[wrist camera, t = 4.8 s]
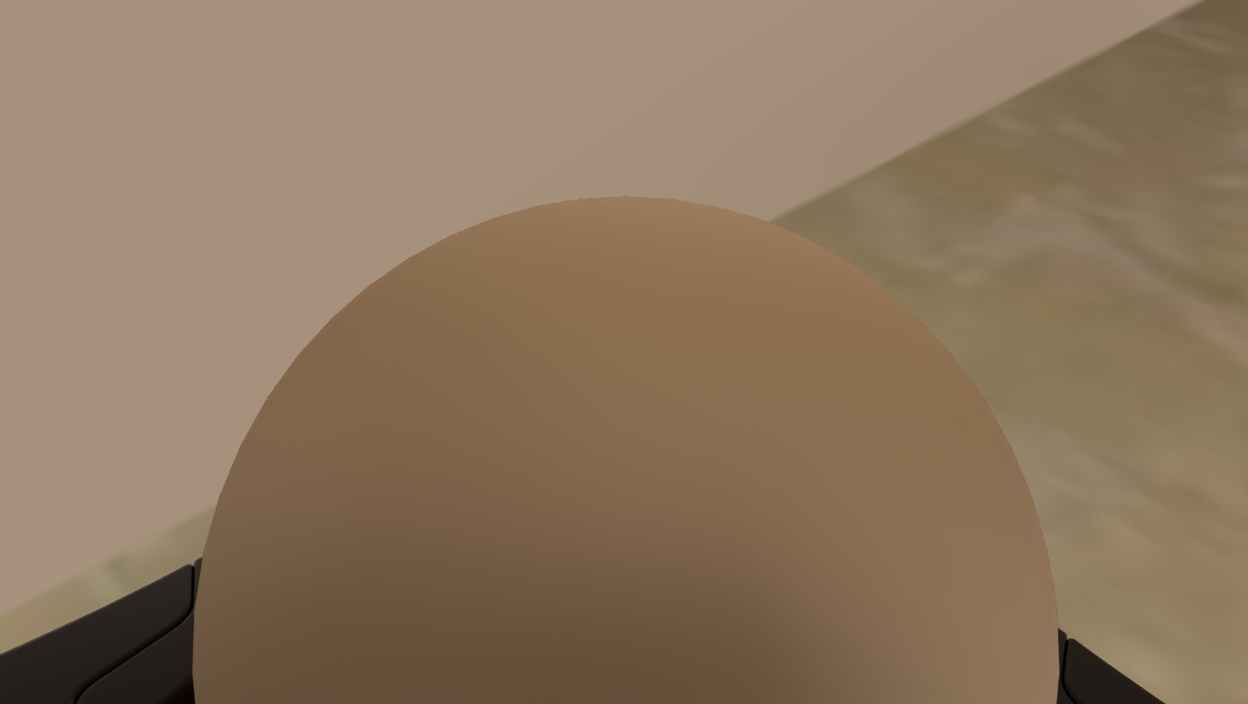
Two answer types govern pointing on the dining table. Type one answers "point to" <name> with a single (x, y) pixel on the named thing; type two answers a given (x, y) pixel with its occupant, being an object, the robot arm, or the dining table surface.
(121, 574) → the dining table surface
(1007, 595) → the peg
